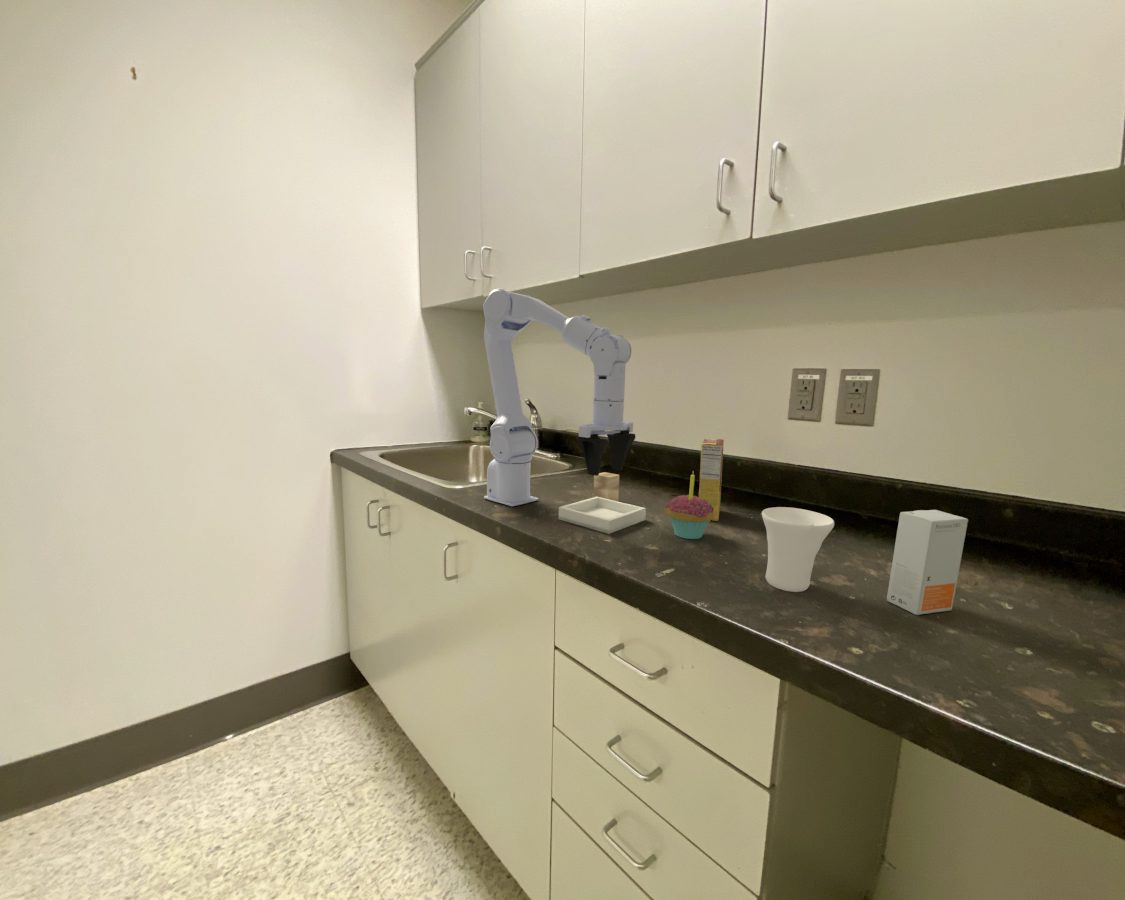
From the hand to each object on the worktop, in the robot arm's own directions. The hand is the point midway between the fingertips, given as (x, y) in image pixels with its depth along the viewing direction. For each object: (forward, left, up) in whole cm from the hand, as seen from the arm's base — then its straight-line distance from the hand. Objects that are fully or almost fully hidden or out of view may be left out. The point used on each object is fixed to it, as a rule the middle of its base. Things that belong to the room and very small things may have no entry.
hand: (605, 472), depth 92 cm
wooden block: (-8, +12, -10) cm, 17 cm away
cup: (+36, -5, -10) cm, 38 cm away
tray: (0, 0, -9) cm, 9 cm away
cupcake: (+16, +4, -10) cm, 19 cm away
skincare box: (+50, 0, -10) cm, 51 cm away
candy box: (+13, +19, -10) cm, 25 cm away
